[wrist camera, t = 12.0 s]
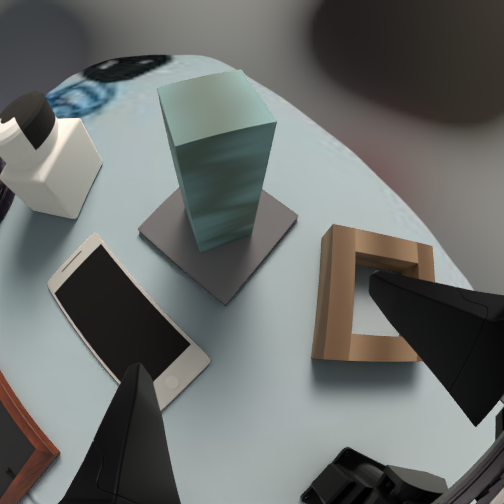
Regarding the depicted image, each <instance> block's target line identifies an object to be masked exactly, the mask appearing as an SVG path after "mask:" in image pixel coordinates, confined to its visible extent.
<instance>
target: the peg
mask: <svg viewBox="0 0 504 504" xmlns="http://www.w3.org/2000/svg"><path fill="white" fill-rule="evenodd" d="M157 90H158V95H159V100H160V105H161V109H162V114H163V119H164V123H165V128H166V132H167V137H168V141H169V146H170V150H171V154H172V158H173V162H174V167H175V171H176V175H177V179H178V183H179V186H180V190H181V194H182V198H183V202H184V206H185V209H186V212H187V215H188V218H189V221H190V224H191V227H192V230H193V233H194V236H195V239H196V242H197V244H198V247H199V250H200V253H201V252H204V251H207V250H210V249H213V248H216V247H218V246H221V245H224V244H227V243H230V242H233V241H236V240H239V239H242V238H245V237H248V236H251V235H252V232H253V227H254V223H255V218H256V214H257V209H258V205H259V200H260V195H261V191H262V186H263V182H264V177H265V173H266V168H267V164H268V159H269V155H270V150H271V146H272V141H273V137H274V132H275V128H276V123H277V121H276V119H275V118H274V116H273V115H272V113H271V112H270V110H269V109H268V107H267V106H266V104H265V103H264V101H263V100H262V98H261V97H260V95H259V94H258V93H257V91H256V90H255V88H254V87H253V85H252V84H251V83H250V81H249V80H248V78H247V77H246V76H245V74H244V73H243V72H242V70H234V71H228V72H222V73H217V74H212V75H207V76H202V77H197V78H193V79H189V80H185V81H180V82H177V83H173V84H169V85H165V86H162V87H158V88H157Z"/></svg>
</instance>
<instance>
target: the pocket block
mask: <svg viewBox="0 0 504 504" xmlns="http://www.w3.org/2000/svg"><path fill="white" fill-rule="evenodd" d="M355 265H359V266H365V267H371V268H377V269H383V270H389V271H395V272H401V275H404V276H408V277H413V278H417V279H422V280H426V281H431V282H435V275H434V260H433V248H432V246H430V245H426V244H421V243H417V242H413V241H409V240H405V239H400V238H396V237H392V236H387V235H383V234H378V233H374V232H369V231H364V230H360V229H355V228H350V227H345V226H340V225H335V224H333V225H332V226H331V227H330V228H329V230H328V231H327V232H326V233H325V235H324V236H323V237H322V242H321V260H320V275H319V288H318V300H317V311H316V321H315V330H314V339H313V347H312V356H311V358H316V359H328V360H345V361H375V362H409V361H423V360H422V359H421V358H420V357H419V356H418V355H417V353H416V352H415V351H414V350H413V349H412V348H411V346H410V345H409V344H408V343H407V342H406V341H405V339H404V338H403V337H402V336H401V335H399V337H390V336H373V335H358V334H351V332H352V320H353V305H354V286H355Z"/></svg>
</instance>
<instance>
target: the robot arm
mask: <svg viewBox="0 0 504 504" xmlns="http://www.w3.org/2000/svg"><path fill="white" fill-rule="evenodd" d="M369 294H370V296H371V297H372V299H373V300H374V302H375V303H376V304H377V306H378V307H379V308H380V310H381V311H382V313H383V314H384V315H385V317H386V318H387V319H388V321H389V322H390V323H391V325H392V326H393V327H394V328H395V329H396V330H397V331H398V333H399V334H400V335H401V336H402V337H403V338H404V339H405V341H406V342H407V343H408V344H409V345H410V346H411V348H412V349H413V350H414V351H415V352H416V353H417V355H418V356H419V357H420V358H421V359H422V360H423V362H424V363H425V364H426V365H427V366H428V368H429V369H430V370H431V371H432V372H433V374H434V375H435V376H436V377H437V379H438V380H439V381H440V382H441V383H442V385H443V386H444V387H445V388H446V390H447V391H448V392H449V394H450V395H451V396H452V397H453V399H454V400H455V401H456V403H457V404H458V405H459V406H460V408H461V409H462V410H463V412H464V413H465V414H466V416H467V417H468V418H469V420H470V421H471V422H472V424H473V425H474V426H475V427H477V425H478V424H479V423H480V422H481V421H482V420H483V419H484V418H485V417H486V416H487V414H488V413H489V412H490V411H491V410H492V409H493V407H494V406H495V405H496V404H497V402H498V401H499V400H500V401H501V402H502V403H503V404H504V295H497V294H490V293H483V292H477V291H472V290H467V289H462V288H458V287H453V286H449V285H444V284H440V283H435V282H431V281H426V280H422V279H417V278H413V277H408V276H404V275H399V274H394V273H390V272H385V271H381V270H378V271H375V272H373V273H371V274H370V277H369ZM93 440H94V441H93V442H92V444H91V446H90V448H89V450H88V453H87V455H86V457H85V459H84V461H83V463H82V465H81V467H80V469H79V470H78V472H77V474H76V476H75V478H74V479H73V481H72V483H71V485H70V487H69V489H68V490H67V492H66V494H65V496H64V497H63V499H62V500H61V501H60V502H59V503H58V504H181V502H180V499H179V495H178V491H177V487H176V483H175V479H174V475H173V470H172V466H171V461H170V456H169V451H168V446H167V441H166V435H165V430H164V424H163V418H162V414H161V411H160V407H159V403H158V400H157V396H156V392H155V388H154V384H153V381H152V378H151V376H150V375H149V374H148V372H147V371H146V369H145V368H144V367H143V365H142V364H141V363H136V364H132V365H130V366H129V367H128V369H127V371H126V373H125V375H124V377H123V379H122V381H121V383H120V385H119V387H118V389H117V391H116V393H115V395H114V397H113V399H112V401H111V403H110V405H109V407H108V409H107V411H106V414H105V416H104V418H103V420H102V422H101V424H100V426H99V428H98V431H97V433H96V435H95V437H94V439H93ZM347 451H349V453H348V454H345V453H346V452H347ZM307 496H309V497H308V498H306V499H305V497H307ZM474 499H475V500H476V501H477V503H476V504H504V407H503V408H502V409H501V411H500V412H499V413H498V414H497V416H496V434H495V442H494V443H493V444H492V446H491V447H490V448H489V449H488V450H487V451H486V452H485V454H484V455H483V456H482V457H481V458H480V459H479V460H478V461H477V462H476V463H475V464H474V465H473V466H472V467H471V468H470V469H469V470H468V471H467V472H466V473H465V474H464V475H463V476H462V477H461V478H460V479H459V480H458V481H457V482H456V483H455V484H454V485H453V486H452V487H450V488H449V489H448V488H447V484H446V481H445V479H444V478H441V477H438V476H435V475H433V474H430V473H427V472H423V471H417V470H412V469H406V468H401V467H396V466H392V465H387V466H385V465H383V464H381V463H379V462H377V461H375V460H373V459H371V458H369V457H367V456H365V455H363V454H361V453H359V452H357V451H355V450H353V449H352V448H350V447H346V448H344V449H343V450H342V451H341V452H340V453H339V455H338V456H337V457H336V458H335V459H334V461H333V462H332V463H331V464H329V465H328V466H327V467H326V468H325V470H324V471H323V472H322V473H321V474H320V475H319V476H318V477H317V478H316V479H315V481H314V482H313V483H312V485H311V486H310V487H309V488H308V489H307V490H306V491H305V492H304V493H303V494H302V495H301V500H302V501H303V502H305V503H307V504H470V503H471V502H472V501H473V500H474Z"/></svg>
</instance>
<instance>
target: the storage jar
mask: <svg viewBox="0 0 504 504" xmlns="http://www.w3.org/2000/svg"><path fill="white" fill-rule="evenodd" d="M5 165H6V162H5V161H4V160H3V159H2V158H1V157H0V174H1V172H2V170H3V169H4V167H5ZM14 196H15V193H14V192H12V191H11V190H10V189H9V188H8V187H7V186H6V185H5V184H4V183H3V182H2V181H1V180H0V223H1V221H2V220H3V219H4V217H5V216H6V214H7V212H8V210H9V208H10V206H11V204H12V202H13V199H14Z"/></svg>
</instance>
